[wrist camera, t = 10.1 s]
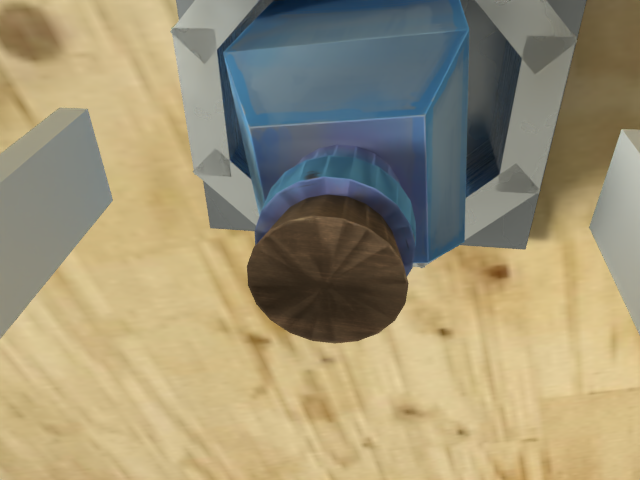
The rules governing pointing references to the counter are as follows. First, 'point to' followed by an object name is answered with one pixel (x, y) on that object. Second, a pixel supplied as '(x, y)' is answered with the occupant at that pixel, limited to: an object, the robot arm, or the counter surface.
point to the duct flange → (482, 116)
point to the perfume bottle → (351, 155)
